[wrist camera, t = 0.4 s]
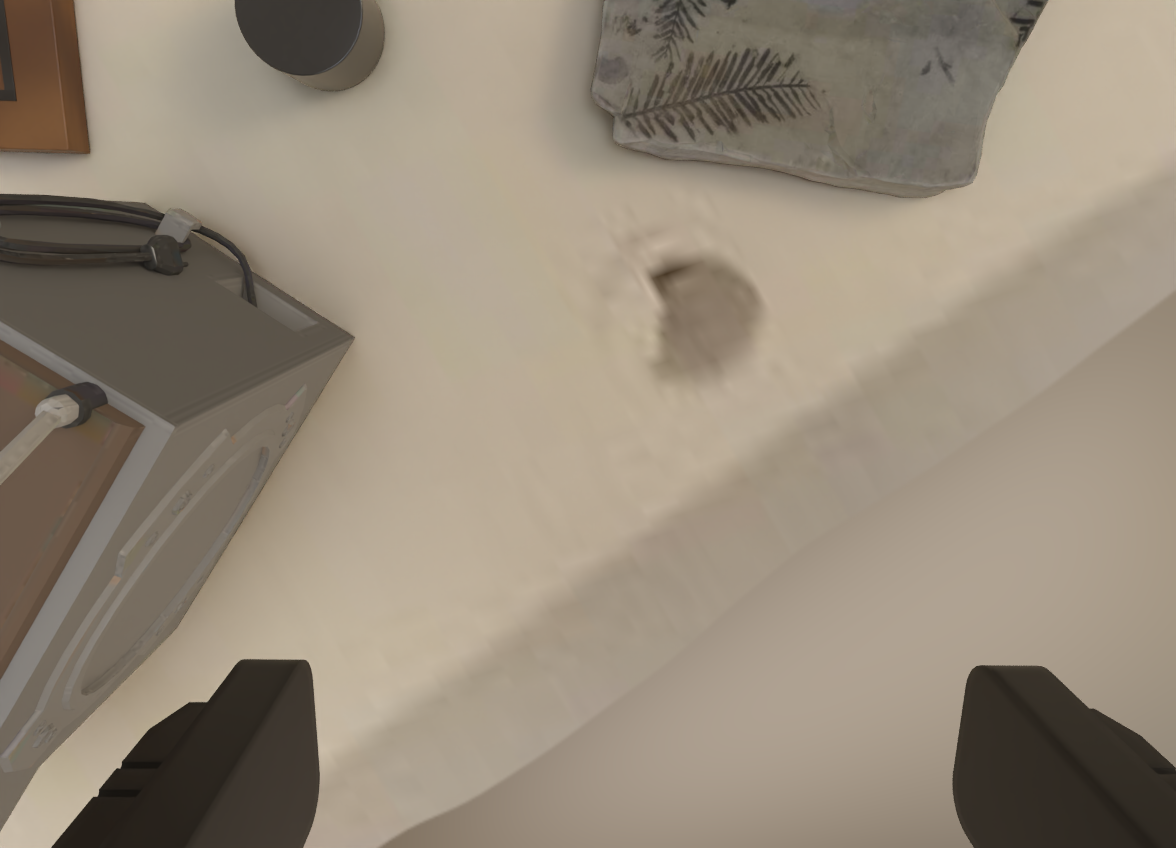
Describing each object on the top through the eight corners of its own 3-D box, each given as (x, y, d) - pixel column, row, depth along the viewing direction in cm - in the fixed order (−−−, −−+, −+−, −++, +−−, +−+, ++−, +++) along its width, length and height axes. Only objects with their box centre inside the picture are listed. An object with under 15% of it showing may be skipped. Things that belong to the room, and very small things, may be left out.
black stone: (266, -34, 33) (229, -66, 29) (383, -30, 33) (360, -62, 29) (273, 89, 34) (239, 74, 30) (386, 93, 34) (365, 77, 30)
